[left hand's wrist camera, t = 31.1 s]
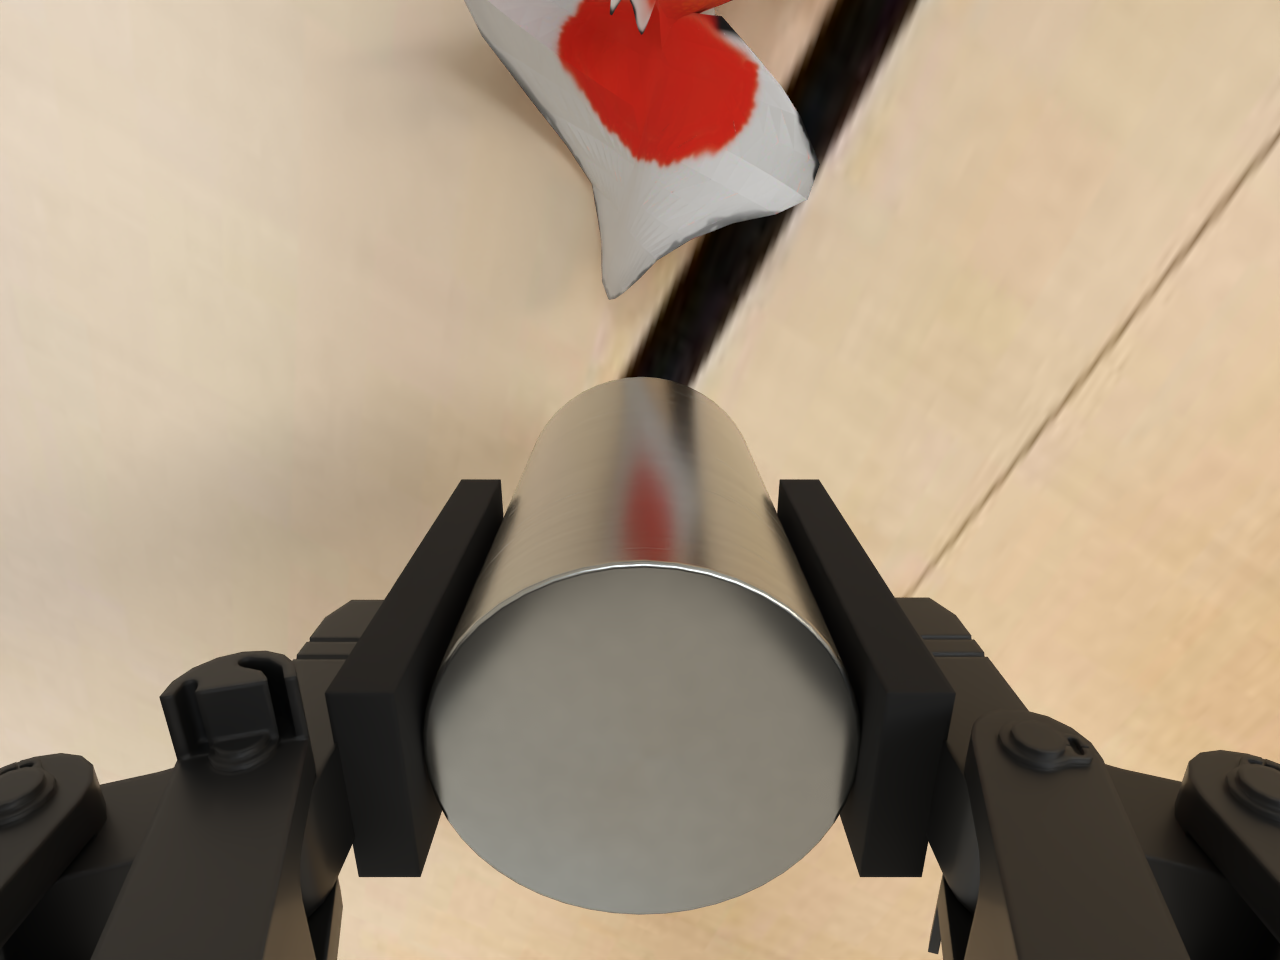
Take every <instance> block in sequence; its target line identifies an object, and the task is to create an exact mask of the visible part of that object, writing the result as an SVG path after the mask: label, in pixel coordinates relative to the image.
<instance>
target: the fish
mask: <svg viewBox="0 0 1280 960" xmlns="http://www.w3.org/2000/svg"><path fill="white" fill-rule="evenodd" d="M464 1H465V3H466V5H467V7H468V9H469V11H470V13H471V15H472V17H473V19H474V21H475V23H476V25H477V27H478V29H479V31H480V33H481V35H482V37H483V38H484V39H485V41H486V42H487V43H488V44H489V46H490V47H491V48H492V50H493V51H494V52H495V54H496V55H497V56H498V58H499V59H500V60H501V61H502V63H503V64H504V65H505V67H506V68H507V69H508V71H509V72H510V73H511V75H512V76H513V77H514V78H515V80H516V81H517V82H518V84H519V85H520V86H521V88H522V89H523V90H524V92H525V93H526V94H527V95H528V97H529V98H530V99H531V101H532V102H533V103H534V105H535V106H536V107H537V108H538V110H539V111H540V112H541V113H542V115H543V116H544V117H545V119H546V120H547V121H548V122H549V124H550V125H551V126H552V127H553V129H554V130H555V131H556V133H557V134H558V135H559V136H560V138H561V139H562V140H563V141H564V143H565V144H566V145H567V147H568V148H569V150H570V151H571V153H572V154H573V156H574V157H575V159H576V160H577V162H578V164H579V165H580V167H581V168H582V170H583V171H584V173H585V174H586V176H587V177H588V179H589V180H590V182H591V183H592V187H593V193H594V199H595V204H596V210H597V216H598V222H599V229H600V235H601V241H602V282H603V285H604V288H605V291H606V294H607V296H608V299H615V298H617V297H618V296H620V295H621V294H623V293H624V292H625V291H626V290H627V289H628V288H630V287H631V286H632V285H633V284H634V283H635V282H636V281H637V280H638V279H639V278H640V277H641V276H642V275H643V274H644V273H645V272H646V271H647V270H648V269H649V268H650V267H651V266H652V265H653V264H654V263H655V262H656V261H657V260H658V259H660V258H662V257H663V256H665V255H667V254H668V253H670V252H671V251H673V250H675V249H676V248H678V247H680V246H681V245H683V244H684V243H686V242H688V241H689V240H692V239H694V238H697V237H699V236H702V235H704V234H707V233H709V232H712V231H714V230H717V229H719V228H722V227H724V226H727V225H729V224H732V223H735V222H740V221H745V220H750V219H754V218H759V217H764V216H769V215H773V214H777V213H779V212H781V211H783V210H786V209H788V208H790V207H792V206H794V205H797V204H799V203H801V202H803V201H805V200H807V199H808V197H809V194H810V191H811V188H812V185H813V182H814V179H815V176H816V173H817V170H818V168H819V165H820V164H819V162H818V159H817V157H816V154H815V152H814V149H813V147H812V144H811V142H810V139H809V137H808V134H807V132H806V129H805V127H804V124H803V122H802V119H801V117H800V116H799V114H798V112H797V111H796V109H795V108H794V106H793V104H792V103H791V101H790V99H789V98H788V96H787V95H786V93H785V91H784V90H783V88H782V87H781V85H780V84H779V83H778V82H777V80H776V79H775V78H774V77H773V75H772V74H771V73H770V72H769V71H768V69H767V68H766V67H765V66H764V64H763V63H762V62H761V61H760V60H759V58H758V57H757V56H756V55H755V54H754V53H753V52H752V50H751V49H750V48H749V47H748V46H747V45H746V43H745V42H744V41H743V40H742V39H741V38H740V37H739V35H738V34H737V33H736V32H735V31H734V30H733V29H732V27H731V26H730V25H729V24H728V23H727V22H726V21H725V20H724V18H723V17H722V16H715V7H717V6H719V5H722V4H724V3H727V2H729V1H731V0H464Z"/></svg>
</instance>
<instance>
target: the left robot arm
mask: <svg viewBox="0 0 1280 960" xmlns="http://www.w3.org/2000/svg"><path fill="white" fill-rule="evenodd" d="M777 515H778V517H779V519H780V522H781V524H782V526H783V528H784V531H785V533H786V535H787V537H788V540H789V542H790V544H791V547H792V549H793V551H794V553H795V556H796V558H797V560H798V562H799V565H800V567H801V569H802V572H803V574H804V576H805V578H806V581H807V583H808V585H809V587H810V590H811V592H812V594H813V597H814V599H815V601H816V603H817V606H818V608H819V610H820V612H821V615H822V617H823V619H824V622H825V624H826V626H827V628H828V631H829V633H830V635H831V637H832V640H833V642H834V644H835V647H836V649H837V651H838V653H839V656H840V658H841V660H842V662H843V665H844V667H845V669H846V672H847V674H848V676H849V678H850V681H851V683H852V685H853V688H854V691H855V695H856V699H857V703H858V706H859V710H860V721H861V745H860V753H859V761H858V767H857V773H856V777H855V782H854V784H853V787H852V789H851V792H850V794H849V797H848V799H847V802H846V804H845V805H844V807H843V809H842V811H841V812H840V817H841V820H842V823H843V826H844V829H845V832H846V835H847V838H848V842H849V845H850V848H851V851H852V854H853V857H854V860H855V863H856V866H857V869H858V872H859V875H860V877H922V872H923V867H924V862H925V856H926V851H927V846H928V841H929V843H930V846H931V848H932V850H933V852H934V855H935V857H936V859H937V861H938V863H939V866H940V868H941V870H942V872H943V875H942V880H941V885H940V890H939V895H938V900H937V905H936V910H935V915H934V920H933V925H932V930H931V935H930V942H929V949H928V952H931V953H935V954H938V952H939V947H940V942H941V944H942V953H943V960H1280V764H1278V763H1275V762H1273V761H1270V760H1267V759H1262V758H1261V757H1257V756H1253V755H1250V754H1245V753H1238V752H1231V751H1224V750H1217V751H1209V752H1202V753H1199V754H1198V755H1197V756H1195V757H1194V758H1193V759H1192V760H1190V761H1189V763H1188V766H1187V769H1186V772H1185V775H1184V778H1183V781H1182V782H1180V781H1175V780H1170V779H1166V778H1161V777H1157V776H1152V775H1147V774H1143V773H1138V772H1134V771H1129V770H1124V769H1120V768H1117V767H1113V766H1110V765H1106V764H1105V763H1104V761H1103V759H1102V757H1101V756H1100V755H1099V753H1098V752H1097V750H1096V749H1095V748H1094V746H1093V745H1092V743H1091V742H1089V741H1088V740H1087V739H1086V738H1084V737H1083V736H1082V735H1080V734H1079V733H1078V732H1076V731H1075V730H1074V729H1073V728H1071V727H1069V726H1067V725H1065V724H1063V723H1061V722H1059V721H1056V720H1054V719H1052V718H1050V717H1048V716H1044V715H1041V714H1037V713H1033V712H1029V711H1028V709H1027V708H1026V707H1025V705H1024V704H1023V703H1022V701H1021V700H1020V699H1019V698H1018V696H1017V695H1016V694H1015V692H1014V691H1013V690H1012V688H1011V687H1010V686H1009V684H1008V683H1007V682H1006V680H1005V679H1004V678H1003V677H1002V675H1001V674H1000V673H999V671H998V670H997V669H996V667H995V666H994V665H993V663H992V662H991V661H990V660H989V658H988V657H985V656H984V652H983V650H982V649H981V648H980V646H979V645H978V644H977V642H976V641H975V640H972V639H971V635H970V633H969V632H968V631H967V629H966V628H965V627H964V625H963V624H962V623H961V621H960V620H959V619H958V618H957V616H956V615H955V614H953V613H952V612H950V611H949V610H947V609H946V608H944V607H943V606H941V605H940V604H938V603H936V602H935V601H933V600H932V599H930V598H895V597H894V596H893V594H892V593H891V591H890V590H889V588H888V587H887V585H886V583H885V582H884V580H883V579H882V577H881V576H880V574H879V572H878V571H877V569H876V568H875V566H874V565H873V563H872V562H871V560H870V558H869V557H868V555H867V554H866V552H865V551H864V549H863V548H862V546H861V544H860V543H859V541H858V540H857V538H856V537H855V535H854V534H853V532H852V530H851V529H850V527H849V526H848V524H847V523H846V521H845V520H844V518H843V516H842V515H841V513H840V512H839V510H838V509H837V507H836V506H835V504H834V502H833V501H832V499H831V498H830V496H829V495H828V493H827V492H826V490H825V488H824V487H823V485H822V484H821V482H820V481H819V480H780V484H779V497H778V511H777ZM502 521H503V505H502V491H501V480H461V481H460V483H459V484H458V486H457V488H456V489H455V491H454V492H453V494H452V495H451V497H450V498H449V500H448V502H447V503H446V505H445V506H444V508H443V509H442V511H441V512H440V514H439V516H438V517H437V519H436V520H435V522H434V523H433V525H432V526H431V528H430V530H429V531H428V533H427V534H426V536H425V537H424V539H423V541H422V542H421V544H420V545H419V547H418V548H417V550H416V551H415V553H414V555H413V556H412V558H411V559H410V561H409V562H408V564H407V565H406V567H405V569H404V570H403V572H402V573H401V575H400V576H399V578H398V579H397V581H396V583H395V584H394V586H393V587H392V589H391V590H390V592H389V593H388V595H387V597H386V598H385V600H351V601H349V602H348V603H346V604H345V605H343V606H342V607H340V608H339V609H337V610H336V611H334V612H333V613H331V614H330V615H328V616H327V617H325V618H324V620H323V621H322V622H321V624H320V625H319V626H318V628H317V629H316V630H315V632H314V633H313V634H312V636H311V637H310V642H306V644H305V645H304V646H303V648H302V649H301V650H300V652H299V653H298V654H297V659H293V661H291V660H290V659H289V658H288V657H286V656H285V655H283V654H278V653H274V652H269V651H250V652H240V653H236V654H231V655H227V656H223V657H219V658H216V659H213V660H211V661H209V662H206V663H204V664H201V665H199V666H197V667H194V668H192V669H191V670H189V671H188V672H186V673H185V674H183V675H182V676H180V677H179V678H177V679H176V680H174V681H173V682H172V683H171V684H170V685H169V686H168V687H167V689H166V690H165V691H164V692H163V693H162V695H161V696H160V701H161V704H162V708H163V711H164V715H165V718H166V722H167V725H168V729H169V732H170V736H171V739H172V743H173V746H174V750H175V753H176V757H177V762H176V764H175V767H174V768H171V769H168V770H164V771H161V772H157V773H152V774H148V775H143V776H138V777H134V778H129V779H125V780H120V781H115V782H111V783H106V784H102V785H99V782H98V779H97V776H96V773H95V770H94V767H93V765H92V764H91V763H90V762H89V761H87V760H86V759H85V758H84V757H82V756H79V755H71V754H64V753H58V754H51V755H44V756H37V757H32V758H29V759H26V760H22V761H20V762H15V763H12V764H10V765H7V766H4V767H2V768H0V960H337V954H338V945H339V936H340V927H341V918H342V909H343V904H342V897H341V890H340V885H339V880H338V875H339V873H340V871H341V868H342V866H343V864H344V862H345V859H346V857H347V855H348V853H349V850H350V848H351V846H352V844H353V848H354V854H355V859H356V864H357V870H358V875H359V877H421V874H422V871H423V868H424V865H425V861H426V858H427V855H428V852H429V849H430V846H431V843H432V840H433V837H434V834H435V831H436V828H437V825H438V821H439V818H440V815H441V812H442V809H441V807H440V805H439V803H438V801H437V800H436V797H435V794H434V791H433V789H432V786H431V783H430V781H429V778H428V773H427V768H426V763H425V758H424V753H423V723H424V715H425V707H426V703H427V700H428V697H429V693H430V690H431V687H432V683H433V681H434V679H435V676H436V674H437V672H438V669H439V667H440V665H441V662H442V660H443V658H444V655H445V653H446V651H447V648H448V646H449V644H450V641H451V639H452V637H453V634H454V632H455V630H456V627H457V625H458V623H459V620H460V618H461V616H462V614H463V611H464V609H465V607H466V604H467V602H468V600H469V597H470V595H471V593H472V590H473V588H474V586H475V583H476V581H477V579H478V576H479V574H480V572H481V569H482V567H483V565H484V562H485V560H486V558H487V555H488V553H489V551H490V548H491V546H492V544H493V541H494V539H495V537H496V535H497V532H498V530H499V528H500V525H501V523H502Z"/></svg>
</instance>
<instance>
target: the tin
mask: <svg viewBox="0 0 1280 960" xmlns="http://www.w3.org/2000/svg"><path fill="white" fill-rule="evenodd" d="M860 745H861V721H860V710H859V706H858V703H857V699H856V695H855V691H854V688H853V685H852V683H851V681H850V678H849V676H848V674H847V672H846V669H845V667H844V665H843V662H842V660H841V658H840V656H839V653H838V651H837V649H836V647H835V644H834V642H833V640H832V637H831V635H830V633H829V631H828V628H827V626H826V624H825V622H824V619H823V617H822V615H821V612H820V610H819V608H818V606H817V603H816V601H815V599H814V597H813V594H812V592H811V590H810V587H809V585H808V583H807V581H806V578H805V576H804V574H803V572H802V569H801V567H800V565H799V562H798V560H797V558H796V556H795V553H794V551H793V549H792V547H791V544H790V542H789V540H788V537H787V535H786V533H785V531H784V528H783V526H782V524H781V522H780V519H779V517H778V515H777V512H776V510H775V508H774V506H773V503H772V501H771V499H770V497H769V494H768V492H767V490H766V487H765V485H764V483H763V481H762V478H761V476H760V474H759V472H758V469H757V467H756V465H755V462H754V460H753V458H752V456H751V453H750V451H749V449H748V447H747V444H746V442H745V440H744V438H743V436H742V434H741V432H740V431H739V429H738V428H737V426H736V424H735V423H734V422H733V421H732V419H731V418H730V417H729V416H728V415H727V413H726V412H725V411H724V410H722V409H721V408H720V407H719V406H718V405H717V404H716V403H715V402H713V401H712V400H710V399H709V398H707V397H706V396H705V395H703V394H702V393H700V392H698V391H696V390H694V389H692V388H690V387H688V386H685V385H682V384H679V383H676V382H673V381H668V380H663V379H659V378H646V377H637V378H624V379H619V380H613V381H609V382H606V383H603V384H600V385H597V386H595V387H593V388H591V389H588V390H586V391H584V392H582V393H581V394H579V395H578V396H576V397H575V398H573V399H571V400H570V401H569V402H568V403H566V404H565V405H564V406H563V407H562V408H561V409H559V410H558V411H557V413H556V414H555V415H554V416H553V417H552V418H551V419H550V420H549V422H548V423H547V425H546V426H545V428H544V429H543V431H542V432H541V434H540V436H539V438H538V440H537V442H536V444H535V446H534V449H533V451H532V453H531V456H530V458H529V460H528V462H527V465H526V467H525V469H524V472H523V474H522V476H521V479H520V481H519V483H518V486H517V488H516V490H515V493H514V495H513V497H512V500H511V502H510V504H509V507H508V509H507V511H506V514H505V516H504V518H503V521H502V523H501V525H500V528H499V530H498V532H497V535H496V537H495V539H494V541H493V544H492V546H491V548H490V551H489V553H488V555H487V558H486V560H485V562H484V565H483V567H482V569H481V572H480V574H479V576H478V579H477V581H476V583H475V586H474V588H473V590H472V593H471V595H470V597H469V600H468V602H467V604H466V607H465V609H464V611H463V614H462V616H461V618H460V620H459V623H458V625H457V627H456V630H455V632H454V634H453V637H452V639H451V641H450V644H449V646H448V648H447V651H446V653H445V655H444V658H443V660H442V662H441V665H440V667H439V669H438V672H437V674H436V676H435V679H434V681H433V683H432V687H431V690H430V693H429V697H428V700H427V703H426V707H425V715H424V723H423V753H424V758H425V763H426V768H427V773H428V778H429V781H430V783H431V786H432V789H433V791H434V794H435V797H436V800H437V801H438V803H439V805H440V807H441V809H442V810H443V812H444V814H445V816H446V818H447V820H448V821H449V822H450V824H451V825H452V826H453V828H454V829H455V830H456V832H457V833H458V834H459V836H460V837H461V838H462V839H463V840H464V841H465V842H466V844H467V845H468V846H469V847H470V848H471V849H472V850H473V851H474V852H475V853H476V854H477V855H478V856H479V857H481V858H482V859H483V860H484V861H486V862H487V863H488V864H489V865H491V866H492V867H493V868H494V869H496V870H497V871H499V872H500V873H502V874H503V875H505V876H507V877H508V878H510V879H511V880H513V881H515V882H516V883H518V884H520V885H522V886H524V887H526V888H528V889H530V890H532V891H534V892H536V893H538V894H541V895H543V896H546V897H549V898H552V899H554V900H557V901H560V902H563V903H566V904H570V905H574V906H578V907H582V908H586V909H591V910H597V911H604V912H611V913H623V914H663V913H672V912H680V911H687V910H693V909H697V908H701V907H706V906H710V905H714V904H718V903H721V902H723V901H726V900H729V899H732V898H735V897H738V896H741V895H743V894H745V893H747V892H749V891H751V890H754V889H756V888H758V887H760V886H762V885H764V884H766V883H767V882H769V881H771V880H772V879H774V878H776V877H777V876H779V875H781V874H782V873H784V872H785V871H787V870H788V869H789V868H790V867H792V866H793V865H794V864H796V863H797V862H798V861H800V860H801V859H802V858H803V857H804V856H805V855H806V854H807V853H808V852H809V851H810V850H811V849H813V848H814V847H815V846H816V845H817V844H818V843H819V842H820V840H821V839H822V838H823V837H824V835H825V834H826V833H827V832H828V830H829V829H830V828H831V826H832V825H833V824H834V823H835V821H836V819H837V817H838V816H839V814H840V812H841V811H842V809H843V807H844V805H845V804H846V802H847V799H848V797H849V794H850V792H851V789H852V787H853V784H854V782H855V777H856V773H857V767H858V761H859V753H860Z"/></svg>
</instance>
